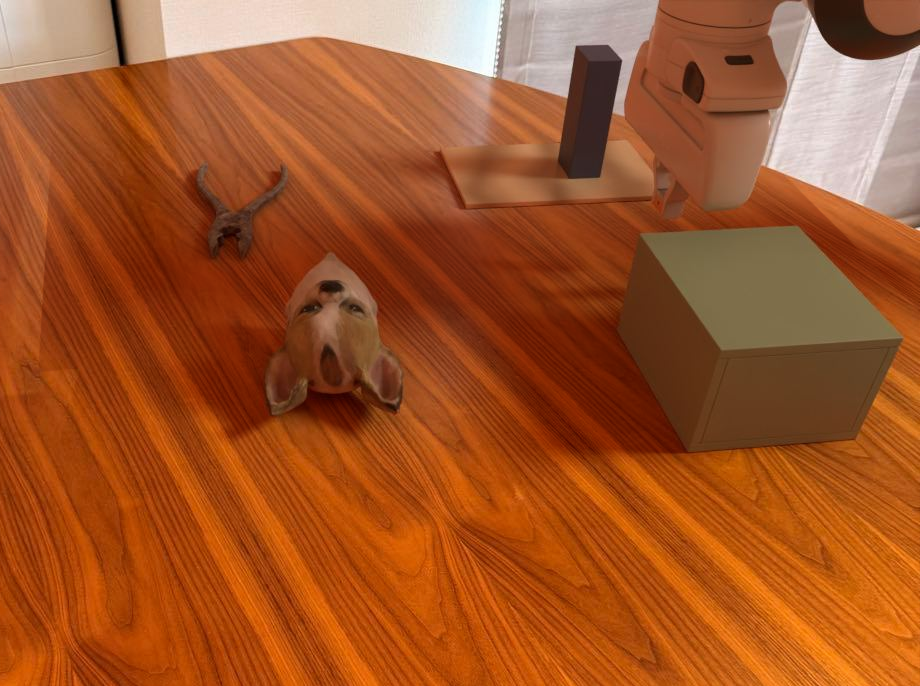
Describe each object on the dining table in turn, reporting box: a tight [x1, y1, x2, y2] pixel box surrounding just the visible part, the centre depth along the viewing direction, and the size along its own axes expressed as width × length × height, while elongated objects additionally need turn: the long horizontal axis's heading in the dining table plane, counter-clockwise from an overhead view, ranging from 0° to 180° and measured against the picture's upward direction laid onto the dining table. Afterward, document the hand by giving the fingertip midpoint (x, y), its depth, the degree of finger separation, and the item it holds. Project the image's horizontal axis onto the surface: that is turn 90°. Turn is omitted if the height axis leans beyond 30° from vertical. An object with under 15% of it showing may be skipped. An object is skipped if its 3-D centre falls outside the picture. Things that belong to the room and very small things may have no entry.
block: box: [558, 44, 623, 179], centre depth 102 cm, size 4×4×12 cm
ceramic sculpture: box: [262, 251, 404, 418], centre depth 75 cm, size 11×9×15 cm
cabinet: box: [616, 225, 904, 454], centre depth 76 cm, size 17×14×9 cm
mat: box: [439, 139, 655, 210], centre depth 106 cm, size 22×14×1 cm, turn 99°
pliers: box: [195, 161, 289, 259], centre depth 98 cm, size 10×1×20 cm
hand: (665, 211), depth 88 cm, fingers closed
